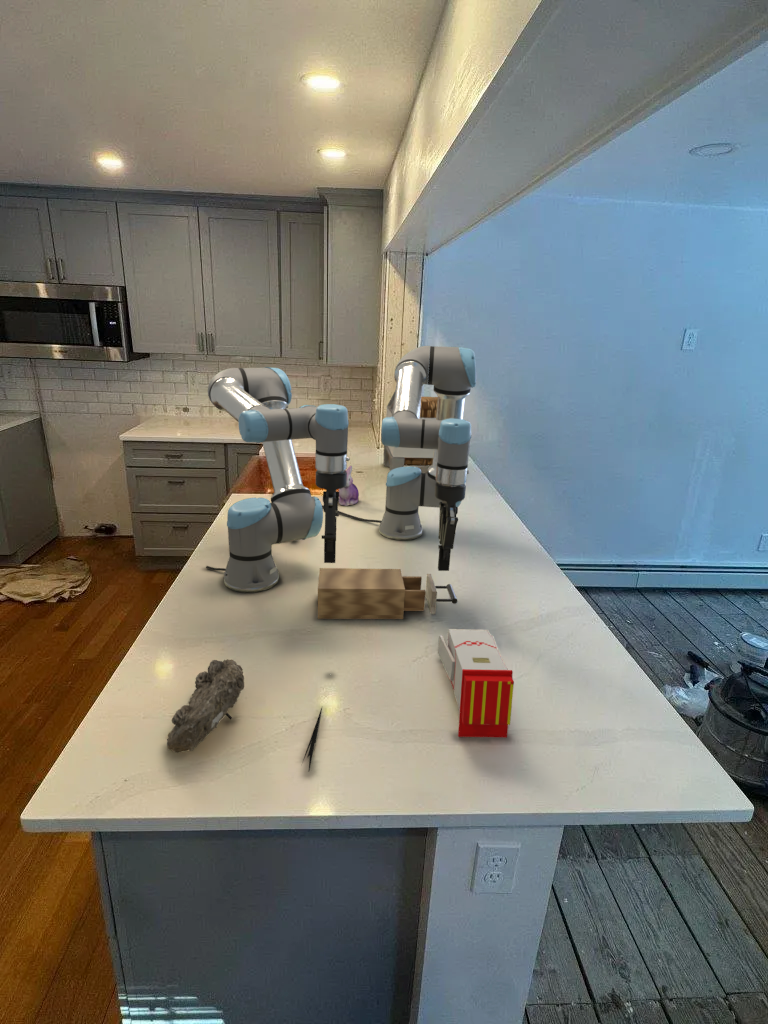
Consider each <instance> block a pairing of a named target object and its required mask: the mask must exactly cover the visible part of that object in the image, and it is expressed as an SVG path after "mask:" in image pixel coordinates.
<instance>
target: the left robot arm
mask: <svg viewBox="0 0 768 1024" xmlns="http://www.w3.org/2000/svg"><path fill="white" fill-rule="evenodd" d="M292 394H293V393H292V385H291V382H290V379H289V377H288V376H287V373H286V372H285V371H284V370H282V369H281V368H278V367H269V366H265V367H231V368H230V367H229V368H226V369H223V370H221V371H218V372H217V373H216V374H215V375H214V376H213V377H212V378H211V379H210V381H209V383H208V386H207V397H208V399H209V401H210V402H211V404H212V405H213V406H214V407H215V408H216V409H217V410H219V411H222V412H225V413H227V414H228V415H230V416H231V417H232V419H234V420H235V421H236V422H238V431H239V435H240V438H241V439H242V440H243V442H245V443H256V444H260V443H261V444H262V447H263V451H264V455H265V456H264V457H265V460H266V464H267V468H268V472H269V476H270V480H271V485H272V488H273V493H274V494H273V493H272V494H273V495H271V496H270V499H268V498H265V497H248V498H244V499H241V500H238V501H236V502H234V503H233V504H232V505H231V506H230V507H229V508H228V509H227V517H226V518H227V521H226V527H227V539H228V554H229V555H228V557H229V558H228V560H227V563H226V566H225V568H224V567H213V566H209V565H206V566H205V568H206V569H208V570H212V571H217V572H218V571H219V572H223V571H224V574H223V583H224V586H225V587H226V588H228V589H229V590H232V591H234V592H239V593H257V592H262V591H266V590H268V589H271V588H273V587H274V586H276V585H277V584H278V582H279V580H280V574H279V569H278V566H277V565H276V562H275V559H274V557H273V547H272V546H273V545H276V544H283V543H288V542H295V541H300V540H301V541H303V540H306V539H310V538H311V539H312V538H314V537H316V536H318V535H319V534H320V532H321V531H322V527H323V523H324V534H323V535H321V539H322V540H323V551H324V552H323V564H336V556H337V555H336V554H337V553H336V552H337V551H336V546H337V545H336V544H337V543H336V542H337V517H340V514H339V512H338V511H339V510H338V509H339V491H337V490H339V489H341V488H344V487H345V486H346V485H347V472H346V471H345V470H347V469H348V462H349V461H350V460H351V458H350V457H349V456H348V444H349V443H348V442H349V441H348V440H349V424H350V423H349V414H348V413H349V411H348V408H347V407H346V406H344V405H342V404H336V403H335V404H334V403H325V404H319V405H317V406H316V405H313V404H303V405H301V406H299V407H296V408H295V407H292V408H289V405H290V404H291V402H292V399H293V398H292V397H293V395H292ZM305 439H313V440H315V455H314V457H315V458H314V459H315V461H314V462H315V469H316V471H315V486H316V487H317V488H319V489H323V492H322V502H323V504H322V502H321V500H320V499H319V498H318V497H317V496H312V494H311V490H310V489H309V488H308V487H306V486H304V484H303V478H302V475H301V470H300V467H299V463H298V459H297V455H296V452H295V447H294V444H293V441H294V440H305ZM322 505H323V506H324V508H322Z"/></svg>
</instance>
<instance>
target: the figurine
mask: <svg viewBox="0 0 768 1024" xmlns="http://www.w3.org/2000/svg"><path fill="white" fill-rule="evenodd" d="M345 471H346V472H347V485H346V486H345V487H344V488H341V489H338V492H339V502H338V505H340V506H353V505H355V504H358V502H359V496H360V492H359V489H358V487H357V485H356V484H354V479H353V477H352V471H353V466H352V465H349V466H348V467H347V469H346V470H345Z"/></svg>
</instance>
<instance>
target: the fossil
mask: <svg viewBox="0 0 768 1024" xmlns="http://www.w3.org/2000/svg"><path fill="white" fill-rule="evenodd" d="M243 670H244V669H243V667H242V665H240V664H237V662H236V661H235V660H234V659H232V658H231V659H227V658H226V659H224V660H223V661H222V660H217V659H212V660H211V661H210V663H209V665H208V666H207V671H201V672H199V673H198V674H197V675H196V676H195V680H194V684H195V685H194V687H195V689H194V690H193V693H192V694H191V697H190V698H189V700H188V704H184V705H182V706H181V707H180V709H177V710H176V711H175V713H174V715H173V716H172V718H171V723H172V724H173V727H172V730H171V731H170V732H168V734H167V738H166V741H167V742H166V745H167V749H168V750H169V751H173V752H174V753H176V754H178V753H182V752H188V751H189V752H192V751H193V750H195V748H196V747H197V746H199V744H200V743H201V742H203V741H204V740H205V739H206V738H207V737H208V736H209V735H210V734H211V733H212V732H214V730H215V729H217V727H218V726H219V724H220V722H221V721H222V720H223V719H224V718H225V716H226V717H227V719H229V720H233V717H232V715H230V714H229V710H230V709H231V708H234V706H235V704H236V703H237V702H238V699H239V697H240V695H241V693H242V691H243V690H245V689H244V688H245V675H244V671H243Z"/></svg>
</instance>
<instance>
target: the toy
mask: <svg viewBox="0 0 768 1024" xmlns="http://www.w3.org/2000/svg"><path fill="white" fill-rule="evenodd" d="M446 640H447V643H446V641H445V639H444V636H443V635H442V634H439V637H438V646H437V656H438V657H439V659H440V661H441V663H442V666H443V668H444V670H445V672H446V674H447V677H448V679H449V681H450V684H451V687H452V690H453V693H454V697H455V701H456V705H457V708H458V711H459V714H458V715H459V716H458V730H457V731H458V732H457V737H458V738H508V731H509V726H510V725H511V717H512V707H513V697H514V696H513V695H514V684H515V680H514V679H513V673H514V671H513V670H512V669H508V667H507V665H506V662H505V661H504V659H503V658H502V655H501V653H500V651H499V649H498V647H497V643H496V639H495V637H494V635H493V634H491V632H490V631H489V629H467V628H466V629H465V628H463V629H461V628H460V629H459V628H448V630H447V639H446Z"/></svg>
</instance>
